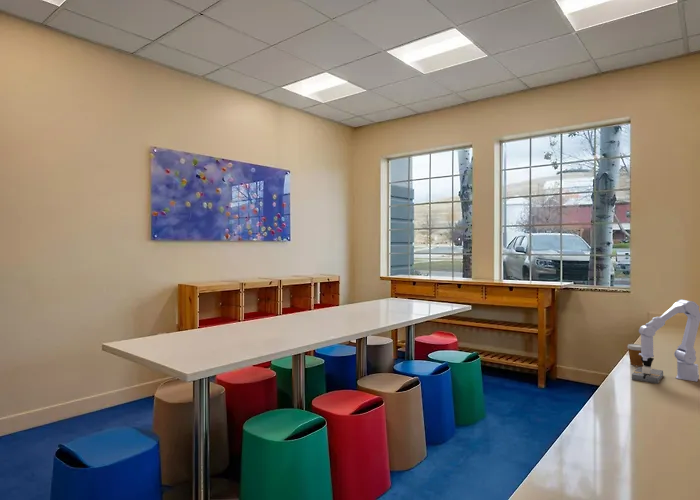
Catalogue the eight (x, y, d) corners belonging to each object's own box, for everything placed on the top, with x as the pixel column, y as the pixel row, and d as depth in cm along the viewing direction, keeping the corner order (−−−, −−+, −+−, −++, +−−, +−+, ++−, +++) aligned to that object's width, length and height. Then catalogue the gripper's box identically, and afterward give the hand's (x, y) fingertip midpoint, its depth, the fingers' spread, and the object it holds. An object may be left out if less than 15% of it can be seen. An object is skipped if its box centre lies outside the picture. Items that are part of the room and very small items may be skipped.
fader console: (663, 375, 247) (663, 370, 247) (657, 383, 233) (657, 378, 233) (638, 371, 255) (638, 366, 255) (631, 379, 242) (631, 374, 242)
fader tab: (651, 375, 242) (650, 366, 242) (650, 376, 240) (649, 367, 240) (643, 374, 244) (643, 365, 244) (642, 375, 242) (642, 366, 242)
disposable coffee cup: (645, 367, 264) (644, 347, 264) (626, 365, 270) (626, 346, 270) (646, 363, 272) (645, 344, 272) (628, 361, 277) (627, 343, 277)
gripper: (641, 343, 252) (641, 366, 252) (636, 348, 242) (636, 372, 242) (655, 345, 247) (656, 368, 247) (651, 350, 237) (651, 374, 237)
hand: (647, 370), depth 244 cm, fingers closed
